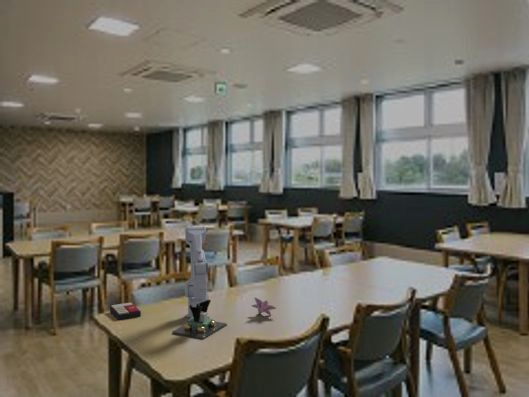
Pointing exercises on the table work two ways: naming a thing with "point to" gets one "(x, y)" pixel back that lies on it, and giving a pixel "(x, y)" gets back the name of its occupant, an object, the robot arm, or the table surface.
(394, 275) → the table surface
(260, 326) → the table surface
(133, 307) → the grey and red box
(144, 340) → the table surface
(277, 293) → the table surface
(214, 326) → the chassis
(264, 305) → the lily
